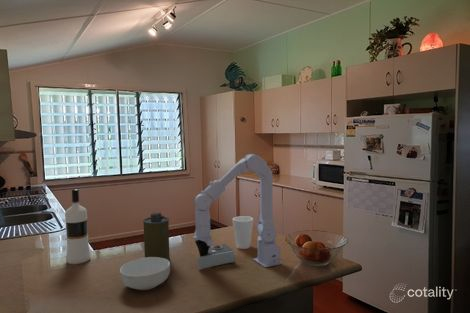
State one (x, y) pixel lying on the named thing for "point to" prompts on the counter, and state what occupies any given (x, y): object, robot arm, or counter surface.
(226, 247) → the camera body
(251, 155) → the robot arm
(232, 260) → the side door
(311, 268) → the counter surface
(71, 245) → the vodka
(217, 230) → the counter surface
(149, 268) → the cereal bowl
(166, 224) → the canister
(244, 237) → the foam cup
